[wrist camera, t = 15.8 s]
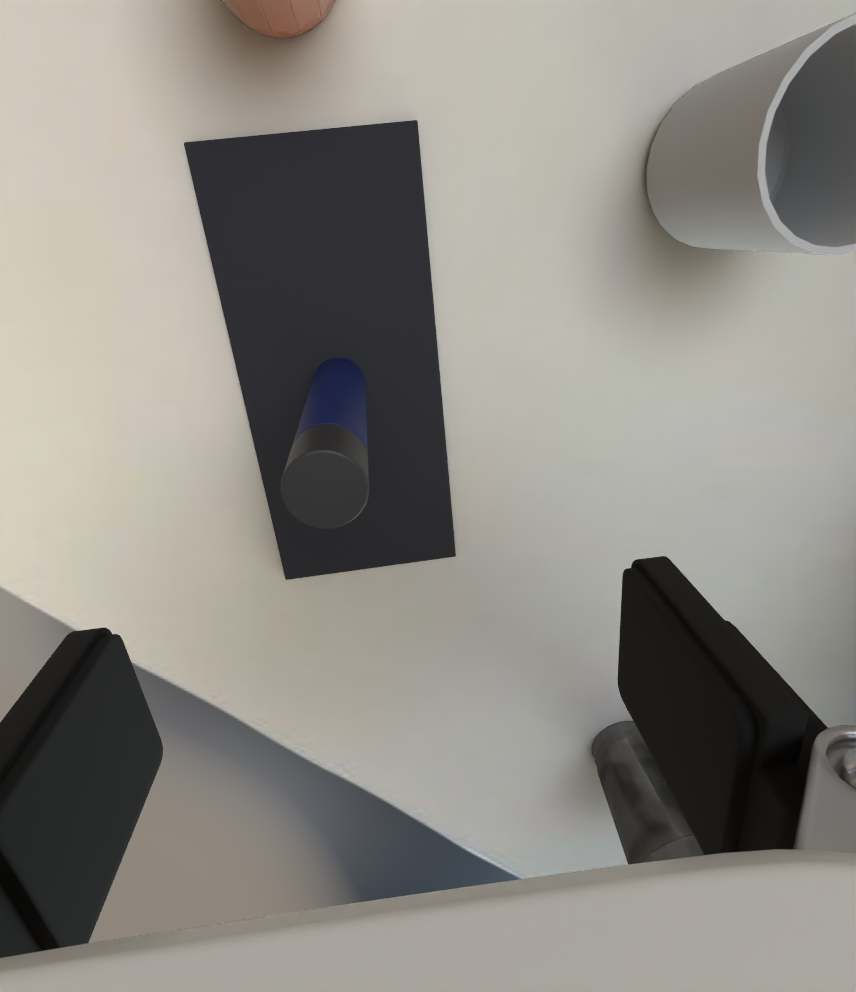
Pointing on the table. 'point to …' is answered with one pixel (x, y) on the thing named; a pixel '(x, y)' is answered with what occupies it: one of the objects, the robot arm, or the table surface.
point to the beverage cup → (640, 798)
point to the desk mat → (334, 322)
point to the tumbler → (280, 15)
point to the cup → (765, 152)
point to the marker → (330, 449)
